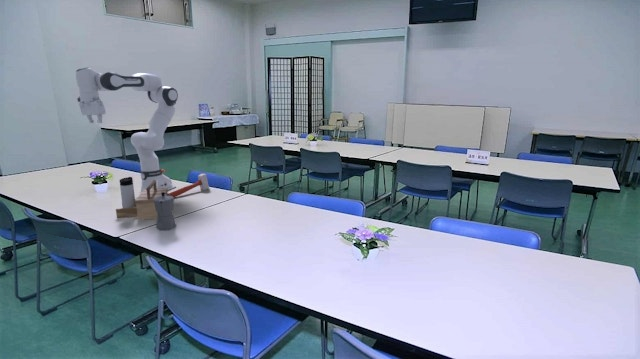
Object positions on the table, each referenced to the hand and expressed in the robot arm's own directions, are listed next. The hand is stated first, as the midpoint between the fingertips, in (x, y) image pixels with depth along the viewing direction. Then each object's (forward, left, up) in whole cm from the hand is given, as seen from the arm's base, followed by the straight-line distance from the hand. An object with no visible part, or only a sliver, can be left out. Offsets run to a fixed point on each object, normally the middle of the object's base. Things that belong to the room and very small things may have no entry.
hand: (96, 123), depth 202 cm
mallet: (-40, +25, -48) cm, 67 cm away
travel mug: (+4, +30, -48) cm, 57 cm away
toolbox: (0, +35, -47) cm, 59 cm away
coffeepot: (+6, +63, -48) cm, 79 cm away
